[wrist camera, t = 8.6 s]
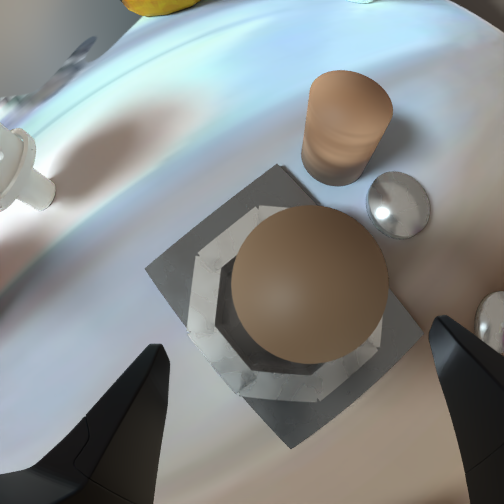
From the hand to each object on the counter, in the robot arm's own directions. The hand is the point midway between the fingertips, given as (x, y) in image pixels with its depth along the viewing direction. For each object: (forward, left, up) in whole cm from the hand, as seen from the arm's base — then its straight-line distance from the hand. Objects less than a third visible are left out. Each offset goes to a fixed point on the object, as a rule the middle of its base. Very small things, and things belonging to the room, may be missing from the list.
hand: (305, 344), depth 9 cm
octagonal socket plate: (+1, -1, -11) cm, 11 cm away
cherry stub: (+7, -11, -11) cm, 17 cm away
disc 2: (-12, -13, -11) cm, 21 cm away
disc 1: (+1, -12, -11) cm, 16 cm away
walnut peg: (+1, -1, -10) cm, 10 cm away
